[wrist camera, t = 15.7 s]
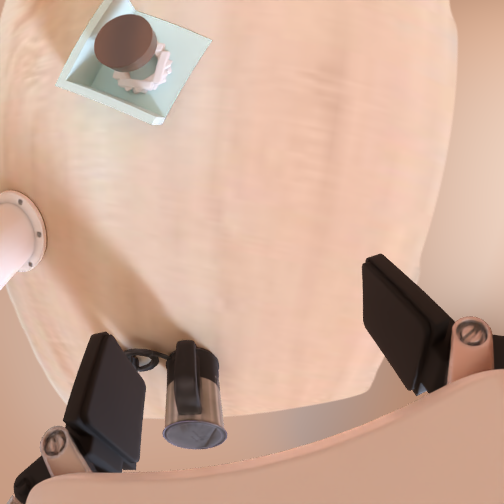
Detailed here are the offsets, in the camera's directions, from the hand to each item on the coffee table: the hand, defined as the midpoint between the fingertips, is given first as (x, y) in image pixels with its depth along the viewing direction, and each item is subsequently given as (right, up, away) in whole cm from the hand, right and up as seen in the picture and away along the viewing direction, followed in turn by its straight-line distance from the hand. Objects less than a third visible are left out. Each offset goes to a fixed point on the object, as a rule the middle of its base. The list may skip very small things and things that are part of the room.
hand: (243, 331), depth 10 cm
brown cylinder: (-11, +22, +11) cm, 27 cm away
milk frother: (-14, -16, +37) cm, 43 cm away
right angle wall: (-13, +25, +18) cm, 33 cm away
